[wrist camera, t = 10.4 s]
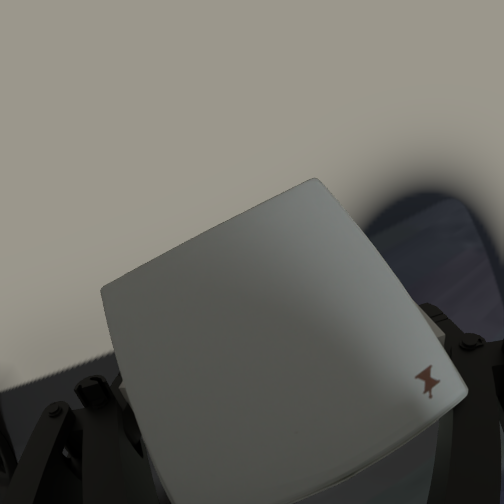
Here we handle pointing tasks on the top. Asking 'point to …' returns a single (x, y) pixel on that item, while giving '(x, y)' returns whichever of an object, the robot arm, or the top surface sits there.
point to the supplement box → (275, 355)
